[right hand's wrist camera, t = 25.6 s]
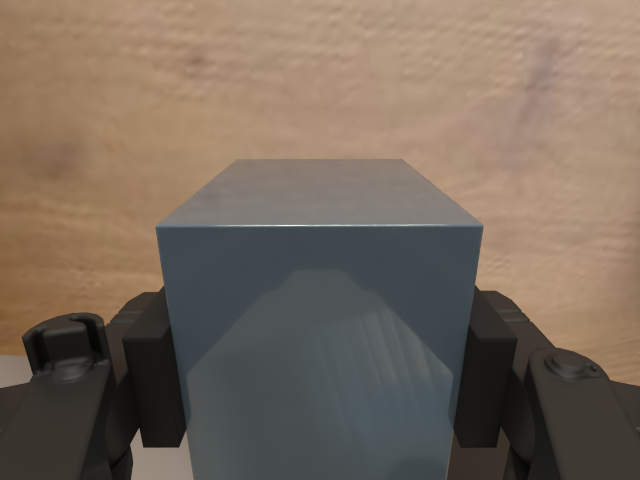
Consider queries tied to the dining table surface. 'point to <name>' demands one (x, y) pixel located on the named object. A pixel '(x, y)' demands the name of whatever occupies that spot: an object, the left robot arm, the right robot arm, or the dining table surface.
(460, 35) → the dining table surface
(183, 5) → the dining table surface
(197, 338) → the block
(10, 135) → the dining table surface
